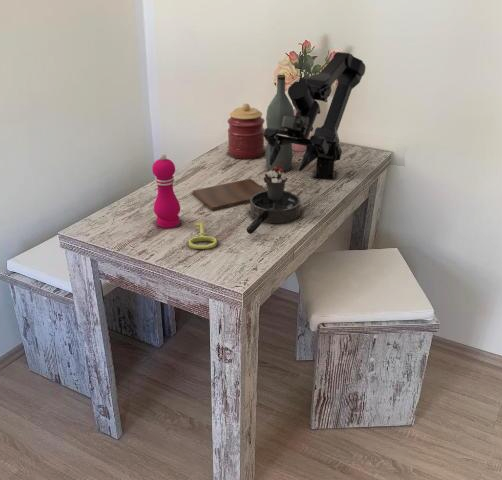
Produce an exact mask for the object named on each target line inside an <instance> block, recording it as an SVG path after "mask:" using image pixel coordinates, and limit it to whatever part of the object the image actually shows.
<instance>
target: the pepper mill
mask: <svg viewBox="0 0 502 480" xmlns="http://www.w3.org/2000/svg"><path fill="white" fill-rule="evenodd" d="M158 158H159V159H157V160H155V161H154V163H153V164H152V168H151V171H152V174H153V175H154V181H155V184H156V186H157V196H156V198H155V200H154V204H153V213H154V214H155V216H157V217H156V225H157V227H159V228H163V229H171V228H175V227H177V226H178V225H179V224H180V216H179V214H180V212H181V204H180V202H179V199H178V198H177V196H176V194H175V190H174V185H173V184H175V176H174V175H175V173H176V166H175V163H174V162H173V161H172V160H170V159H169V158H167V155H166V154H165V153H160V154H159V157H158Z"/></svg>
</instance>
